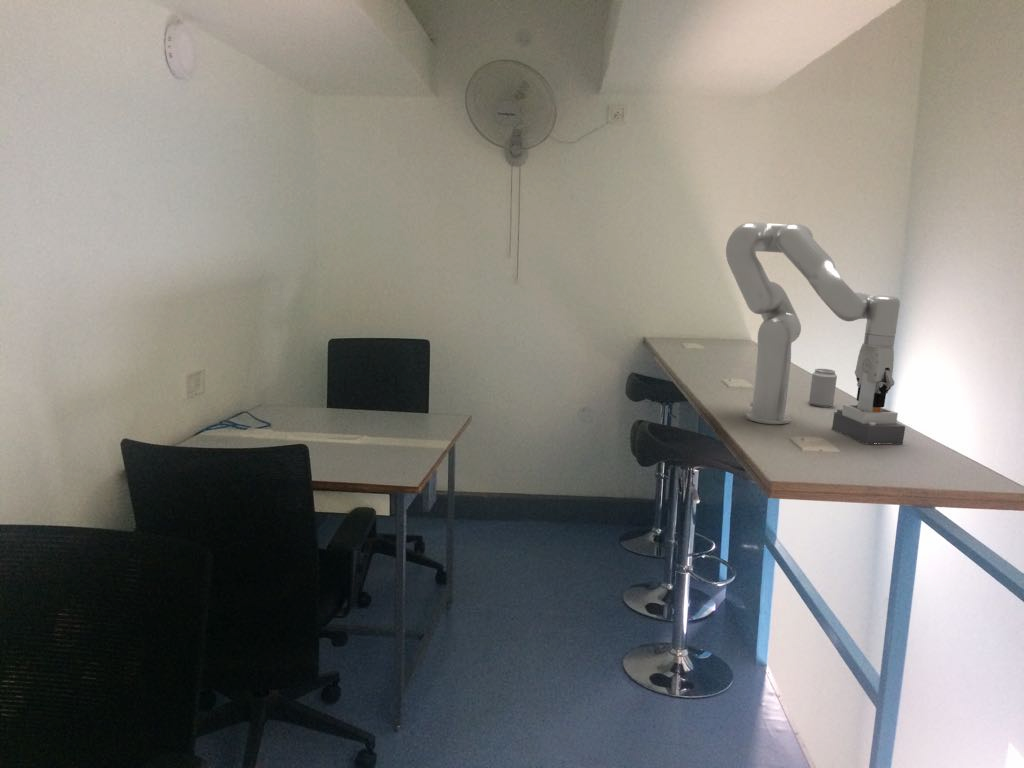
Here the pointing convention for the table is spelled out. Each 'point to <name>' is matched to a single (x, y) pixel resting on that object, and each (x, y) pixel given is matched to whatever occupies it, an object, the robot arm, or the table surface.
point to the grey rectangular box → (869, 425)
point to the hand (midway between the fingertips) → (870, 403)
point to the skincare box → (867, 395)
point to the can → (823, 387)
